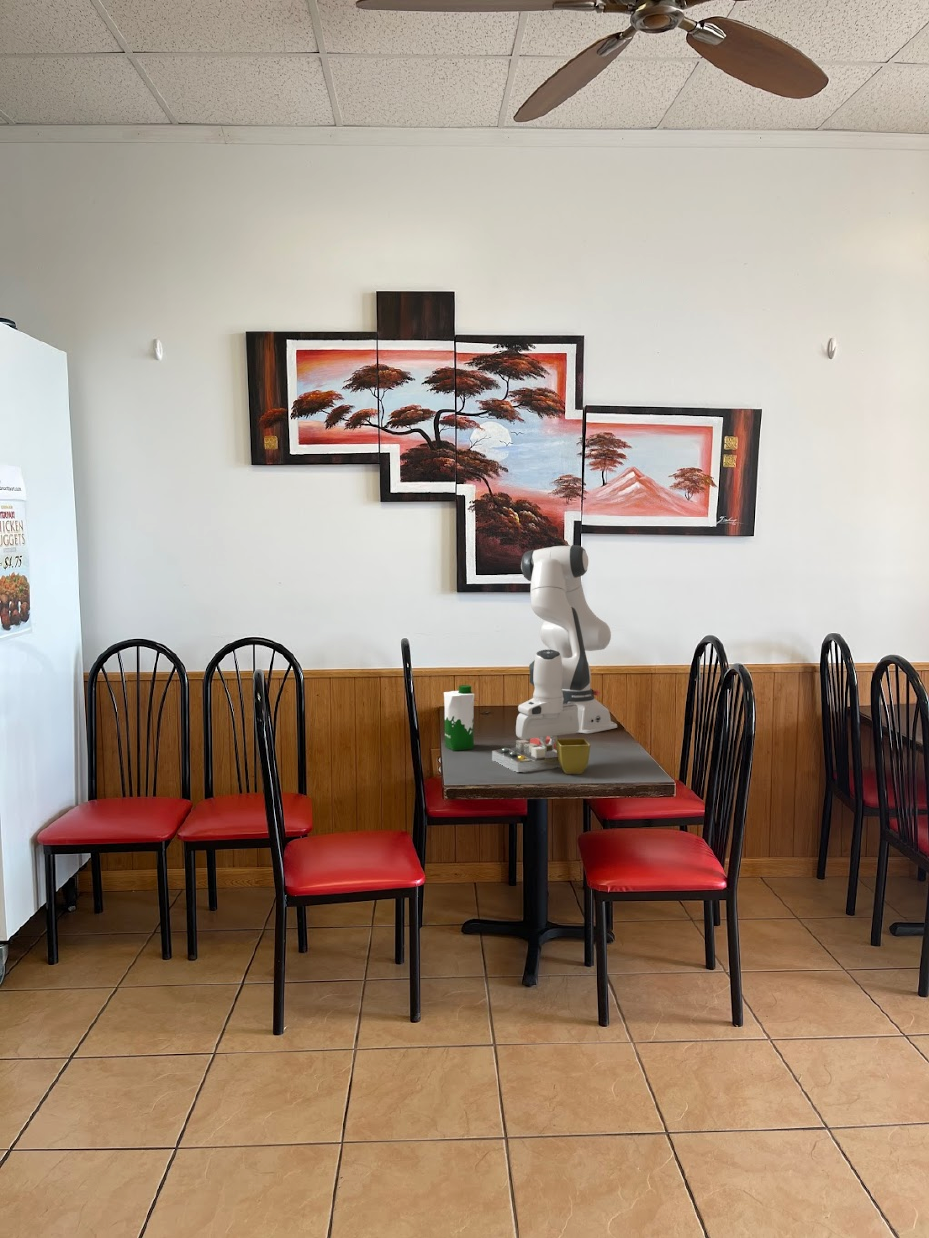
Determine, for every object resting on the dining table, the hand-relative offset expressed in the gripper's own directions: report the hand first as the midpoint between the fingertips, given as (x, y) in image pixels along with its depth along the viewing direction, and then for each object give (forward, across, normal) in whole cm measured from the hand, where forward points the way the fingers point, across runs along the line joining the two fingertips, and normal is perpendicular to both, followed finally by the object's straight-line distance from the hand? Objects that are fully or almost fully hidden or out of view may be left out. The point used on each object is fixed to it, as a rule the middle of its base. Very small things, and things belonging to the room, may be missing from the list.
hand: (547, 750), depth 273 cm
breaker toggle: (+1, +3, 0) cm, 4 cm away
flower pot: (+5, -3, +9) cm, 11 cm away
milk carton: (+5, +14, -32) cm, 35 cm away
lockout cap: (+5, -9, -18) cm, 21 cm away
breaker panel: (+5, +3, -5) cm, 7 cm away
